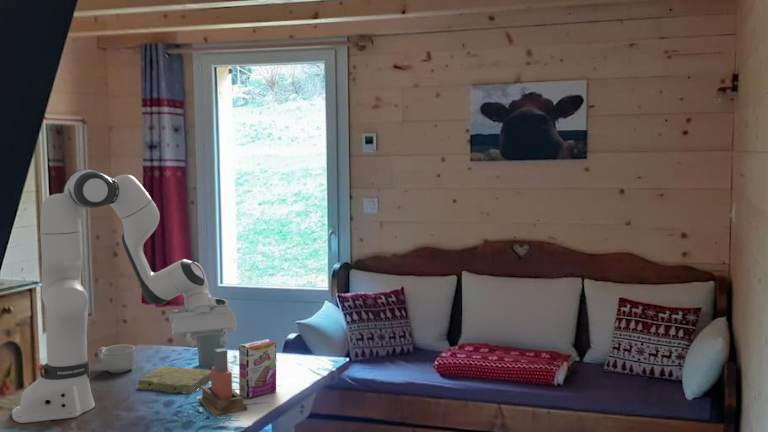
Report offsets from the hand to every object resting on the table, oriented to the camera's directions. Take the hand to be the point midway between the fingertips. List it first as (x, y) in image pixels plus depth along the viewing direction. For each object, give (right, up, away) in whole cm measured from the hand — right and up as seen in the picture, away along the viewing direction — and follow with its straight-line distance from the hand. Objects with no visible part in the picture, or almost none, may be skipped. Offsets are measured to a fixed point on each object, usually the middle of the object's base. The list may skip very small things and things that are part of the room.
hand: (209, 345), depth 238 cm
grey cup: (-7, -13, +36) cm, 39 cm away
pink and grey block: (+6, -16, -8) cm, 19 cm away
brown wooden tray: (+6, -17, -8) cm, 19 cm away
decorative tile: (-14, -16, +14) cm, 25 cm away
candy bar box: (+15, -16, +2) cm, 22 cm away
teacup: (-39, -14, +29) cm, 51 cm away
